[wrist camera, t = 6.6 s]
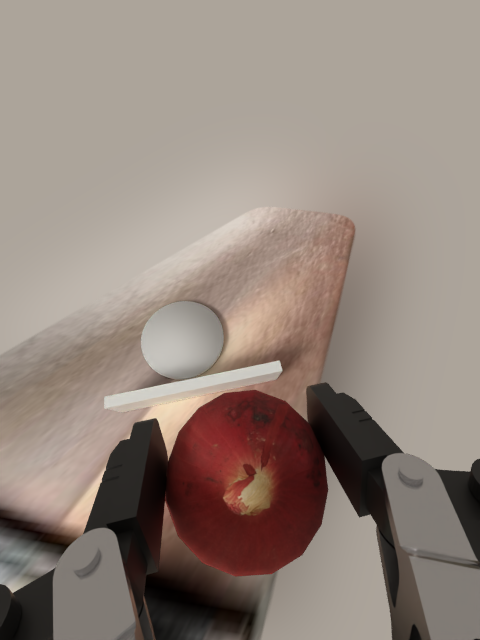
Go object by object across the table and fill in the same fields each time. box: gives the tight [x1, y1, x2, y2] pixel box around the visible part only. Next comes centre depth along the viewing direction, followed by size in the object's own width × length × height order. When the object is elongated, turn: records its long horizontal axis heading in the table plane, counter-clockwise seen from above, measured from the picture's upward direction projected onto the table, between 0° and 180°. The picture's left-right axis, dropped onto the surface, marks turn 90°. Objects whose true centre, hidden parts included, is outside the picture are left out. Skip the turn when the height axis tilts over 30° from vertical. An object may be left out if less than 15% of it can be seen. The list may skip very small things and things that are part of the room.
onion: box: [165, 390, 328, 576], centre depth 10 cm, size 6×6×8 cm
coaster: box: [141, 301, 224, 380], centre depth 30 cm, size 9×9×1 cm
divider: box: [104, 360, 282, 413], centre depth 26 cm, size 16×1×4 cm, turn 102°
